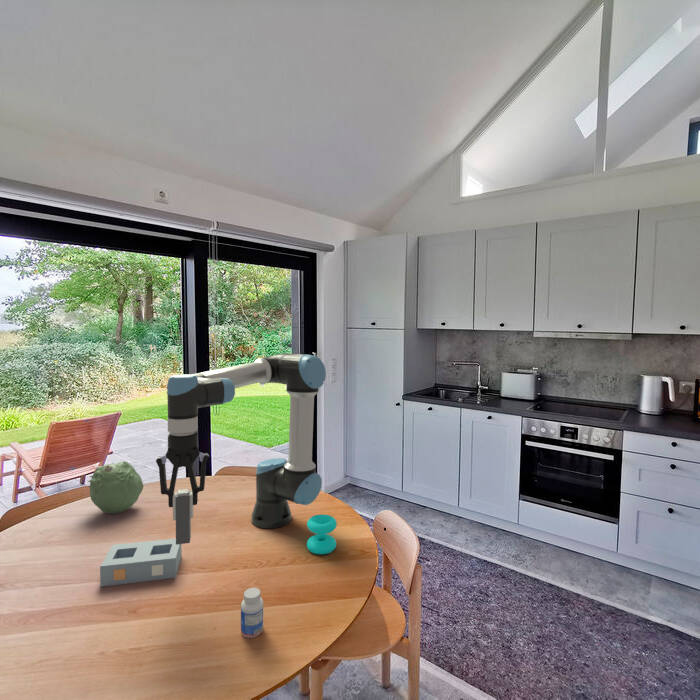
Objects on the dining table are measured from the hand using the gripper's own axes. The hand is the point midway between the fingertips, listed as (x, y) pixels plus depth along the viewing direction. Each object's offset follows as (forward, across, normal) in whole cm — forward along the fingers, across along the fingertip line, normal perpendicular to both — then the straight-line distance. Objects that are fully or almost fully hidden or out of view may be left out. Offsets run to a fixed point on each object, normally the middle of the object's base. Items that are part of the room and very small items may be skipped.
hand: (183, 516), depth 115 cm
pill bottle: (+23, -18, +18) cm, 34 cm away
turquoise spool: (+23, -42, -16) cm, 50 cm away
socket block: (+22, +13, -16) cm, 30 cm away
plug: (+7, 0, 0) cm, 7 cm away
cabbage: (+23, +31, -62) cm, 73 cm away
